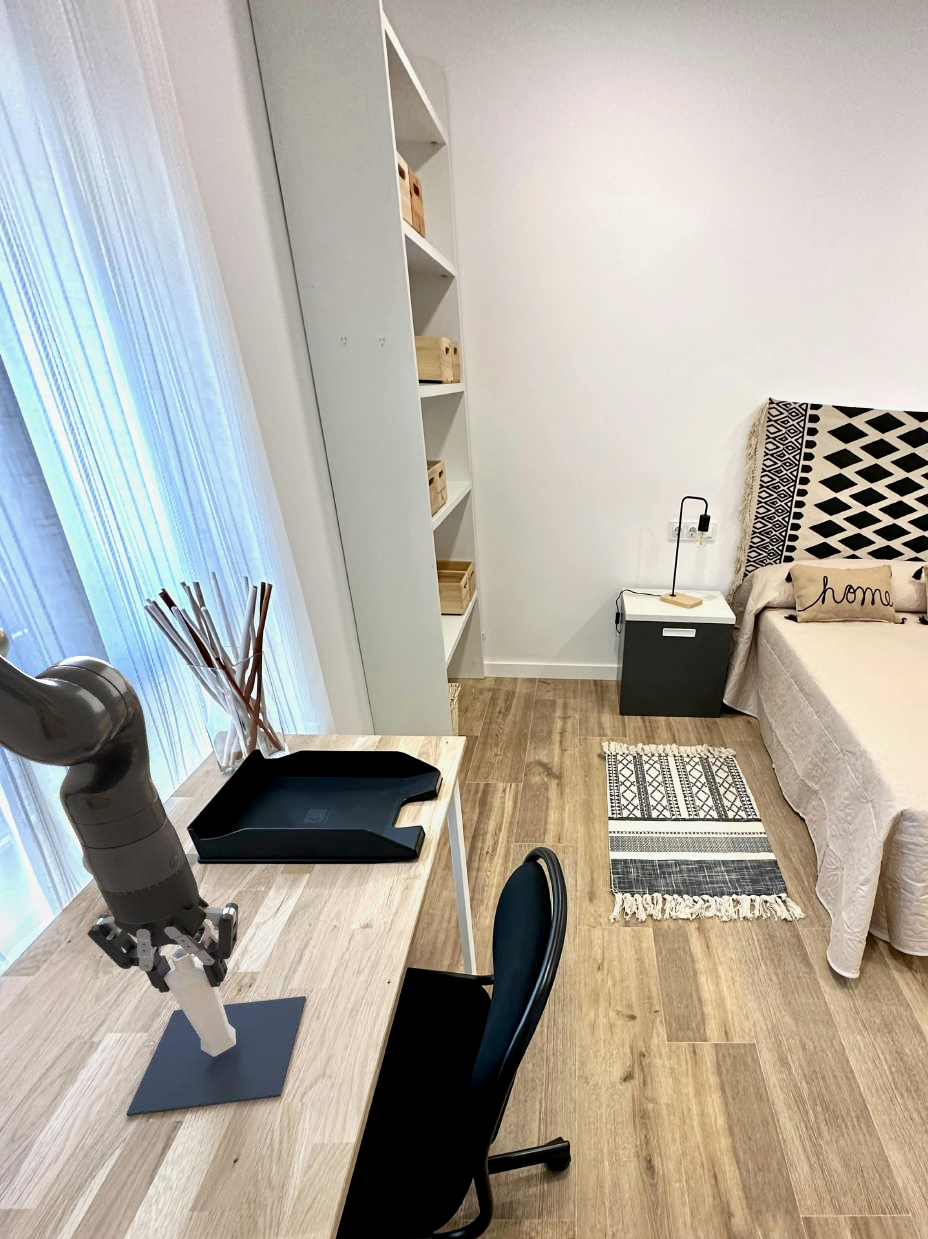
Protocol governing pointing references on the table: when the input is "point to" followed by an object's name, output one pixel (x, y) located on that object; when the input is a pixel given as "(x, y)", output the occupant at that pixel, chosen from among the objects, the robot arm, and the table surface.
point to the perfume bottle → (200, 1002)
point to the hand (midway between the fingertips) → (193, 983)
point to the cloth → (221, 1059)
